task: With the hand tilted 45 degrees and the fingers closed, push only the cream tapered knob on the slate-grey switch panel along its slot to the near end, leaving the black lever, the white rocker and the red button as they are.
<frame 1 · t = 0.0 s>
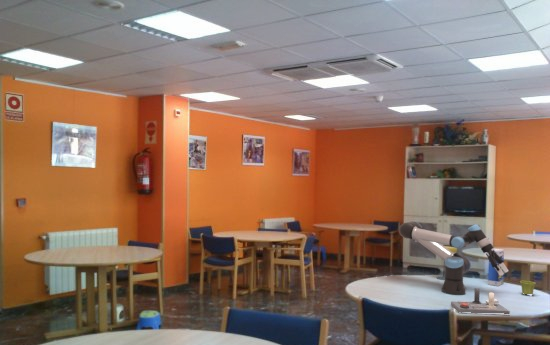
hand: (504, 273, 316), 15 cm above the table, tool tilted 35°, fingers open, 13 cm apart
cocktail glass: (443, 279, 367), on the table
plant pot: (527, 295, 322), on the table
cream tapered knob: (491, 300, 275), point 7 cm above the table, slide at 0.0 cm
black lever: (476, 296, 284), point 7 cm above the table, slide at 0.0 cm
rocker: (491, 301, 284), point 5 cm above the table, hinge at -12.0°
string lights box: (495, 284, 353), on the table
panel: (479, 310, 280), on the table
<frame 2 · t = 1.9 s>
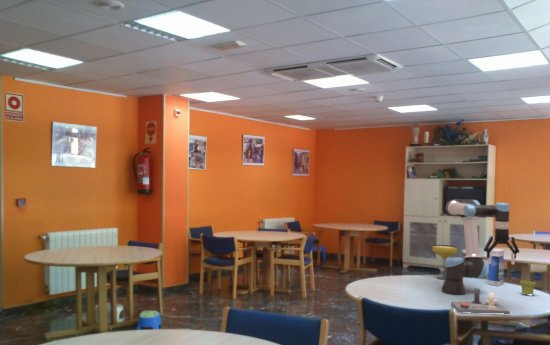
hand: (501, 263, 286), 27 cm above the table, tool pointing down, fingers open, 13 cm apart
nothing on the table moved.
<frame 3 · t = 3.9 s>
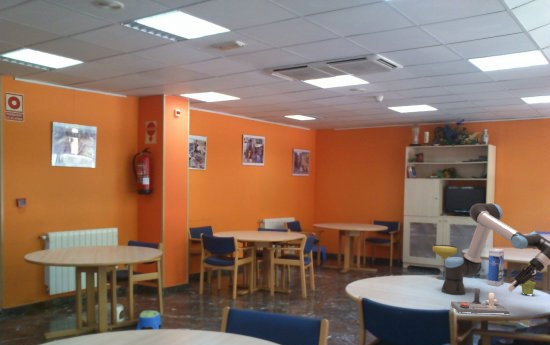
hand: (509, 289, 274), 14 cm above the table, tool tilted 45°, fingers closed
nothing on the table moved.
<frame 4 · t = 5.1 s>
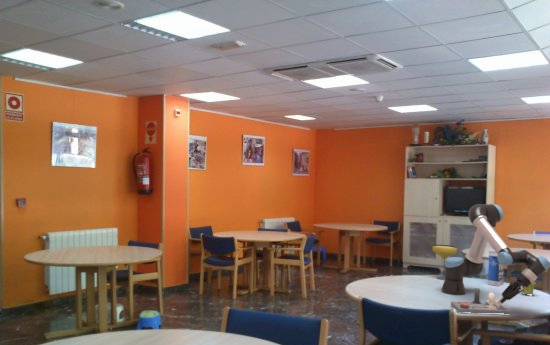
hand: (495, 305, 275), 5 cm above the table, tool tilted 45°, fingers closed
cream tapered knob: (491, 300, 275), point 7 cm above the table, slide at 0.0 cm, touching gripper
everything else where it was.
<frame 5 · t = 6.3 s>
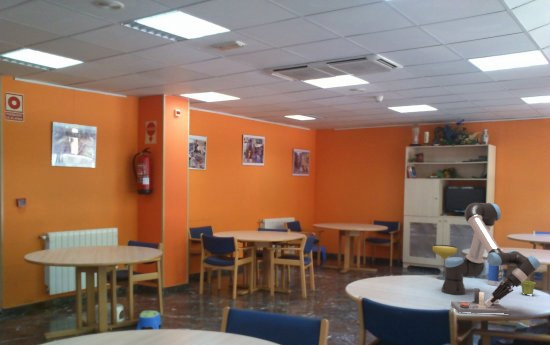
hand: (486, 305, 275), 4 cm above the table, tool tilted 45°, fingers closed
cream tapered knob: (481, 300, 275), point 7 cm above the table, slide at 5.5 cm, touching gripper
everything else where it was.
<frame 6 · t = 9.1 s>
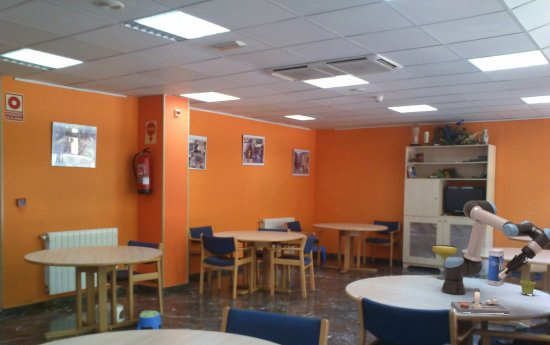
hand: (500, 277, 275), 21 cm above the table, tool tilted 45°, fingers closed
cream tapered knob: (477, 299, 275), point 7 cm above the table, slide at 8.0 cm
everything else where it was.
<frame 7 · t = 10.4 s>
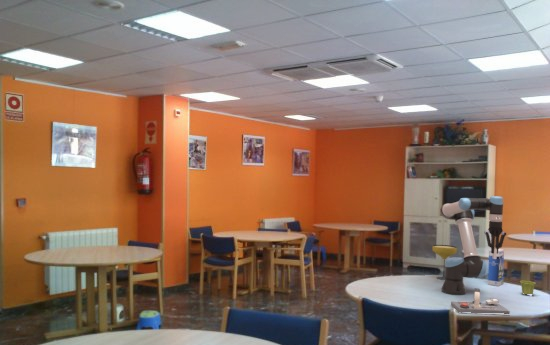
hand: (494, 258, 297), 28 cm above the table, tool pointing down, fingers closed
nothing on the table moved.
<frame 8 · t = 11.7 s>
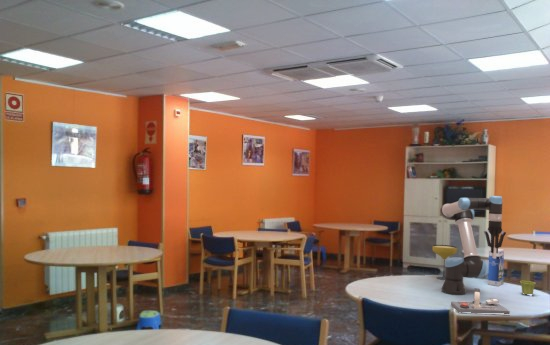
hand: (494, 258, 297), 28 cm above the table, tool pointing down, fingers closed
nothing on the table moved.
at the end: cream tapered knob slide at 8.0 cm; black lever slide at 0.0 cm; rocker at -12° (first picture: -12°) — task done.
